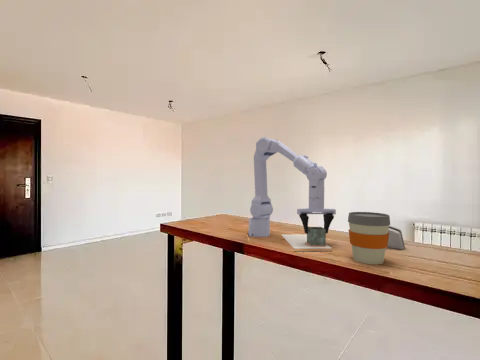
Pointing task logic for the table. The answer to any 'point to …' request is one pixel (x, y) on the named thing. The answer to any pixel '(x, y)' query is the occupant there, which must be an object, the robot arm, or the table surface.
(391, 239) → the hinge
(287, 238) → the post board
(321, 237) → the collar
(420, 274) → the table surface
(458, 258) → the table surface
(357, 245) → the reusable coffee cup
